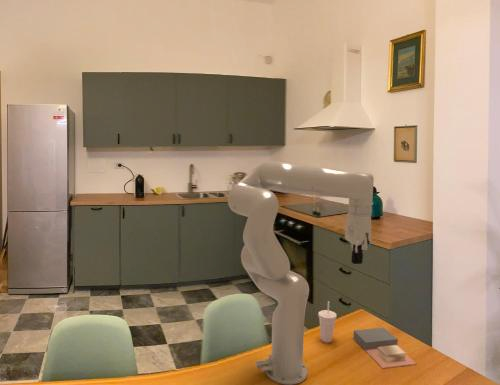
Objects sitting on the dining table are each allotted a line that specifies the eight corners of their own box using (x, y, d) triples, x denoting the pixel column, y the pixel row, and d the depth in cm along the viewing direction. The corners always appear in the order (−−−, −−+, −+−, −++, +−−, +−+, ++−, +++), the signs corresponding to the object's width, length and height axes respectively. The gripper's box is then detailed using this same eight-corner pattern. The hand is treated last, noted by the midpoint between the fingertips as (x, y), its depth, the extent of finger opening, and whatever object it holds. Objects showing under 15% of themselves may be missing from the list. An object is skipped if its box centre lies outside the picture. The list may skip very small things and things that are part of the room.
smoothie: (338, 338, 140) (340, 301, 138) (331, 346, 134) (333, 307, 133) (321, 333, 143) (322, 297, 141) (314, 340, 138) (315, 303, 136)
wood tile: (377, 347, 129) (377, 354, 129) (386, 355, 124) (385, 362, 125) (396, 344, 131) (396, 351, 131) (405, 352, 126) (405, 360, 126)
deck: (365, 350, 132) (365, 342, 132) (353, 338, 140) (353, 330, 140) (397, 347, 135) (397, 339, 134) (383, 335, 143) (384, 327, 142)
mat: (382, 368, 122) (382, 367, 122) (365, 350, 132) (365, 349, 132) (416, 364, 124) (416, 363, 124) (397, 347, 135) (397, 346, 135)
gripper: (339, 206, 137) (337, 257, 139) (360, 214, 122) (357, 271, 125) (359, 205, 138) (356, 256, 141) (382, 214, 124) (378, 269, 126)
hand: (356, 262), depth 133 cm, fingers closed
